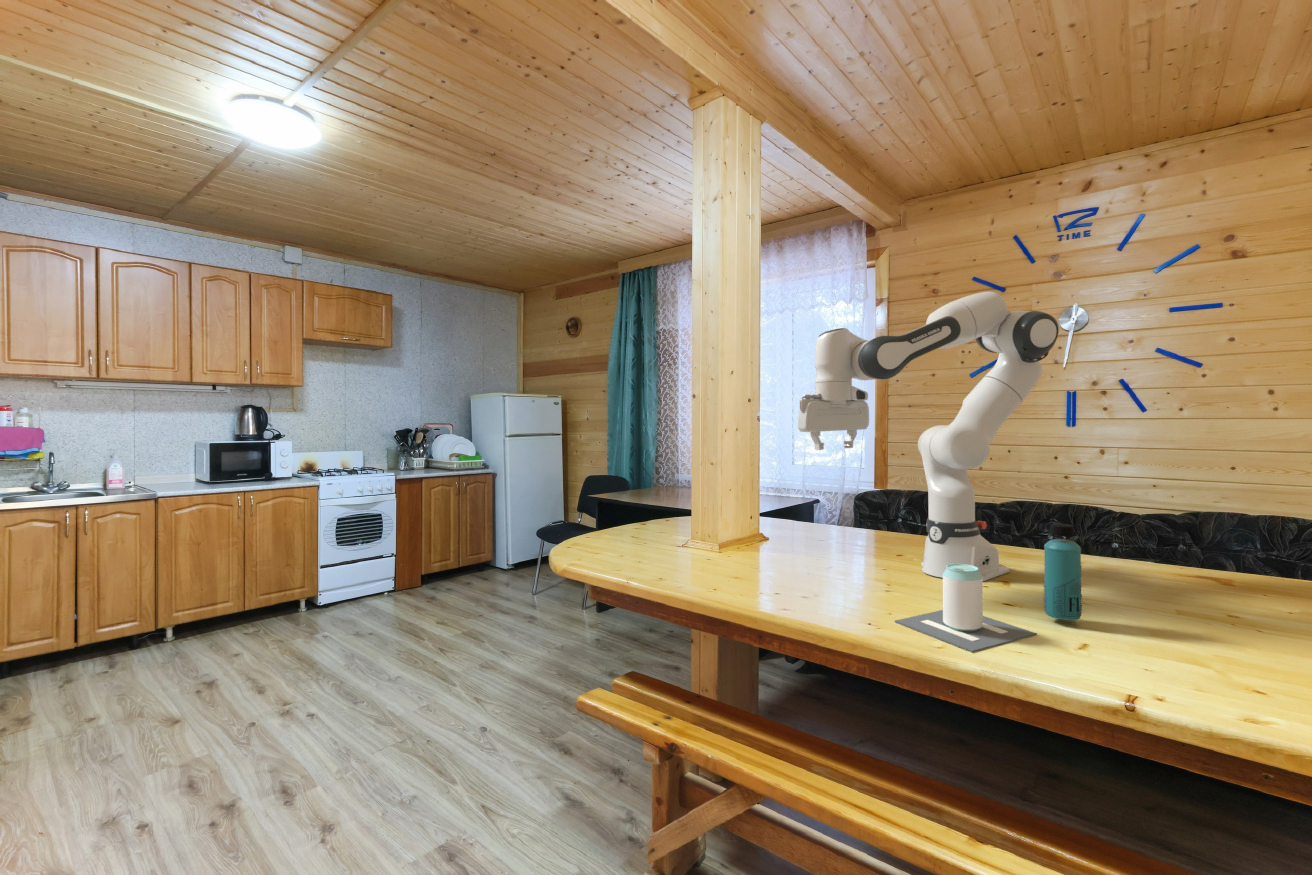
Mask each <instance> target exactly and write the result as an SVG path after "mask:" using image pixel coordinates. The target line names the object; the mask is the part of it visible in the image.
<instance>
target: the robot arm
mask: <svg viewBox="0 0 1312 875" xmlns="http://www.w3.org/2000/svg"><path fill="white" fill-rule="evenodd" d="M925 321H926V322H925V324H924V325H923V326H920V327H918V328H915V329H914V330H911V331H909V332H906V333H904V334H902V335H882V336H876V337H875V338H873V339H871V340H867V339H864V338H862V337H860V336H857V335H856V334H854V333H853V332H851V331H850V330H849V329H848V328H846V327H841V328H834V329H830V330H827V331H824V332H822V333H821V334H819V335H818V337H817V338H816V342H815V352H814V367H815V371H816V377H815V381H814V384H815V385H814V390H815V391H814V392H815V393H814V394H810V393H809V394H804V395H803V396H802V397H801V398H800V400H799V410H798V417H797V429H798V430H799V432H803V433H810V438H811V439H812V442H813V443H814V450H815V451H823V450H825V447H824V445H825V443H824V442H822V441H821V439H820V437H821V432H837V431H841V432H842V431H846V435H847V439H846V440H844V441H843V448H844V449H852V448H854V441H855V439H856V437H857V434H858V430H860V431H861V430H867V429H868V427H869V425H870V409H869V405H868V402H867V400H868V399H869V394H868V392H867V391H865V390H863V389H860V388H858V387H856V386H854V385H853V384H852V382H853V379H857V380H859V381H872V380H888V379H891V378H894V377H895V376H897V375H899V374H900V373H901V371H902V370H904V368H906V366H907V365H909V363H910V362H911V361H913V360H915V359H917V358H919V357H922V356H924V355H926V354H928V353H930V352H933V351H935V350H938V349H942V350H946V349H951V348H952V349H953V348H955V347H960V346H962V345H965V344H968V343H970V342H973V341H976V343H977V344H978V346H979V347H980V348H981V349H982V350H984V351H987V352H989V353H992V354H993V353H994V354H998V358H997V361H996V363H995V364H994V365H993V367H992V368H991V369H990V370H989V371H988V372H987V373H986V374H985V375H984V376H983V377H982V379H981V380H980V381H979V382H978V383H977V384H976V385H975V386H974V387H973V389H972V390H971V391H970V392H969V393H968V394H967V395H966V397H964V399H963V401H962V404H961V405H962V406H961V407H960V409H959V411H958V413H957V415H956V416H955V418H954V419H953V421H951V423H949V424H948V425H946V424H945V425H943V424H941V425H938V424H937V425H935V426H934V425H933V426H932V427H930V428H928V429H926V430H924V431H923V432H922V433H921V434H920V436H919V438H918V440H917V449H918V452H919V453H920V456H921V458H922V464H923V470H924V474H925V480H926V484H927V485H926V486H927V491H928V493H927V494H928V496H927V498H928V499H927V500H928V501H927V502H928V507H927V508H928V511H927V513H928V517H927V518H926V524H925V525H926V532H927V536H926V538H925V544H924V554H923V560H922V561H921V564H920V566H921V567H922V568H921V570H922V572H923V573H924V574H927V575H929V576H932V577H937V578H941V579H943V572H944V571H945V570H946V569H947V568H946V566H947V565H949V564H967V565H972V566H976V567H978V568H979V573H980V574H981V575H982V577H983V582H985V581H988V580H991V579H993V578H996V577H999V576H1002V575H1004V574H1007V573H1010V568H1009V566H1006V565H1004V564H1001V563H1000V558H999V552H998V549H997V547H996V546H994V545H993V544H992V543H990V541H988V540H987V539H985V537H983V535H981V532H980V529H981V530H985V529H986V528H987V526H988V524H987V521H983V520H976V492H975V489H974V487H973V485H972V483H971V480H970V477H969V473H968V470H971V469H973V468H977V467H979V466H981V465H983V463H984V462H985V461H986V460H988V459H987V458H988V457H989V454H990V447H991V446H990V445H991V443H992V442H993V441H994V438H995V436H996V435H997V433H998V431H999V429H1000V428H1001V427H1002V425H1003V424H1005V422H1006V421H1007V419H1008V418H1009V417H1011V415H1012V414H1013V413H1014V412H1015V411H1016V410H1017V408H1019V407H1020V405H1021V404H1022V403H1023V402H1024V401H1025V400H1026V398H1027V397H1028V396H1029V395H1030V394H1031V392H1032V390H1033V389H1034V388H1035V386H1036V385H1037V383H1038V381H1039V380H1040V378H1041V376H1042V374H1043V367H1042V364H1041V363H1040V361H1042V360H1043V359H1046V357H1047V356H1048V355H1049V352H1050V351H1051V349H1052V348H1053V347H1054V346H1055V344H1056V342H1057V340H1058V336H1059V331H1060V329H1059V328H1060V327H1059V323H1058V321H1057V320H1056V318H1055V317H1054V316H1052V315H1051V314H1049V313H1046V312H1043V311H1040V310H1031V311H1030V310H1013V311H1012V310H1011V311H1010V310H1009V309H1008V305H1007V302H1006V300H1005V299H1004V297H1003V296H1001V295H1000V294H999V293H997V292H995V291H981V292H976V293H974V294H969V295H966V296H963V297H960V298H958V299H955V300H952V301H950V302H948V303H946V304H944V305H942V306H940V307H939V308H937V309H935V310H934V311H932V312H931V313H929V315H928V317H927V319H926V320H925Z"/></svg>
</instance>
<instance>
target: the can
mask: <svg viewBox="0 0 1312 875" xmlns="http://www.w3.org/2000/svg"><path fill="white" fill-rule="evenodd" d="M946 568H947V569H946V570H945V571H944V572H943V578H942V610H943V622H944V623H945V624H946V625H947V626H948V627H950V628H952V629H955V630H959V631H966V632H971V631H976V630H978V629H980V628H981V627H982V626H983V616H984V615H983V614H984V613H983V605H984V603H983V598H984V597H983V592H984V591H983V588H984V587H983V584H984V581H983V577H982V575H981V574H980V573H979V568H978V567H976V566H972V565H967V564H949V565H947V566H946Z"/></svg>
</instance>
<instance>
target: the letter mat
mask: <svg viewBox="0 0 1312 875" xmlns="http://www.w3.org/2000/svg"><path fill="white" fill-rule="evenodd" d="M894 623H896V624H899V625H901V626H904V627H906V628H909V629H911V630H915V631H917V632H919V633H921V634H924V635H927V636H929V637H932V638H934V639H937V640H939V641H941V642H944V643H947V644H950V645H952V646H955V647H957V648H958V649H959V648H960V649H962V650H965V651H967V652H970V653H975V652H980V651H984V650H987V649H990V648H993V647H997V646H1002V645H1005V644H1008V643H1012V642H1016V641H1019V640H1024V639H1027V638H1031V637H1034V636H1037V635H1038V633H1037V632H1034V631H1032V630H1031V631H1030V630H1028V629H1025V628H1021V627H1018V626H1015V625H1013V624H1009V623H1007V622H1003V621H1000V620H997V619H994V618H991V617H988V616H985V615H983V626H982V627H981V628H980V629H978V630H976V631H971V632H966V631H959V630H955V629H952V628H950V627H948V626H947V625H946V624H945V623H944V622H943V609H940V610H936V611H931V612H927V613H923V614H918V615H914V616H909V617H905V618H900V619H896V620H894Z"/></svg>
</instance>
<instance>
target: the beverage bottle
mask: <svg viewBox="0 0 1312 875" xmlns="http://www.w3.org/2000/svg"><path fill="white" fill-rule="evenodd" d="M1049 534H1050V535H1052V536H1054V537H1055V536H1056V537H1067V538H1069V537H1070V538H1071V537H1074V536H1075V526H1074V525H1073V524H1069V523H1068V524H1067V523H1051V524H1050V529H1049ZM1043 550H1044V552H1043V554H1044V575H1043V591H1044V592H1043V602H1044V604H1043V605H1044V606H1043V609H1044V613H1045V614H1046V616H1049V617H1052V618H1055V619H1058V620H1064V621H1077V620H1081V617H1082V614H1083V605H1082V598H1083V594H1082V577H1083V575H1082V566H1083V564H1082V561H1081V560H1082V559H1081V557H1082V548H1081V546H1080V545H1079V544H1078V543H1077V542H1076V541H1073V540H1070V539H1061V538H1058V539H1057V538H1054V539H1050V540H1048V541H1047V542H1046V543H1045V544H1044V545H1043Z"/></svg>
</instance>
